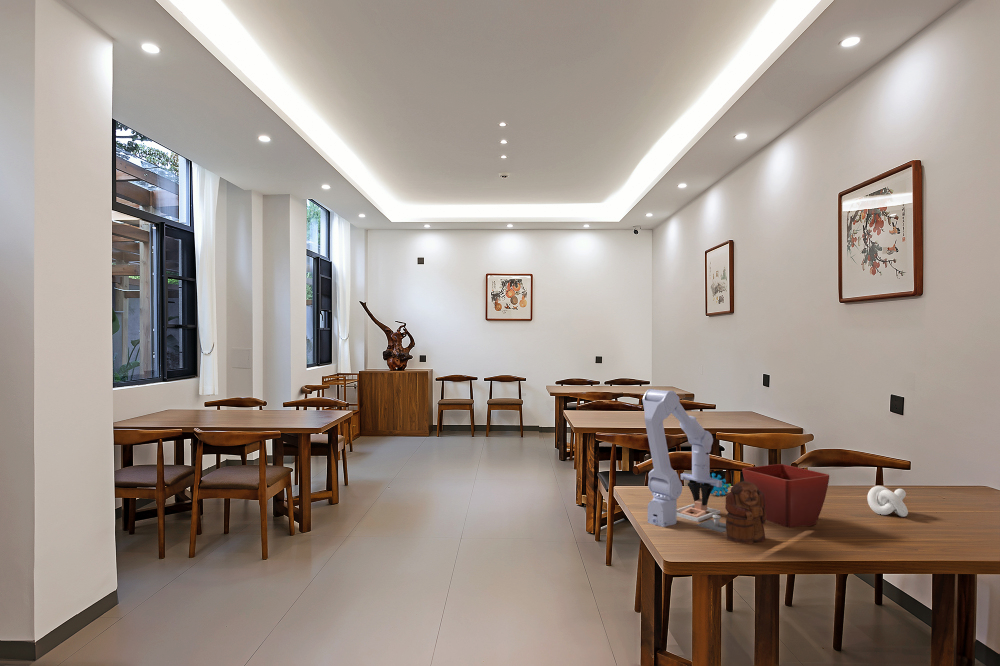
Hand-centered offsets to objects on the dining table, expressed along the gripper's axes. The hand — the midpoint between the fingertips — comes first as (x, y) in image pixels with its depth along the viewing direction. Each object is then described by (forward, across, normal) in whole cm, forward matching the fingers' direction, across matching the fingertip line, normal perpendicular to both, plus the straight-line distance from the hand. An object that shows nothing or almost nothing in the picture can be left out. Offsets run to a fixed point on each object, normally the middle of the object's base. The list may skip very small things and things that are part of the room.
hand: (700, 504), depth 192 cm
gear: (+4, +10, -30) cm, 32 cm away
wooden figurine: (+4, -23, +14) cm, 28 cm away
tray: (+4, 0, +4) cm, 5 cm away
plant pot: (+4, -22, -14) cm, 27 cm away
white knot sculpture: (+4, -42, -52) cm, 67 cm away
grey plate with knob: (+4, -11, +10) cm, 15 cm away
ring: (+3, 0, +3) cm, 4 cm away
